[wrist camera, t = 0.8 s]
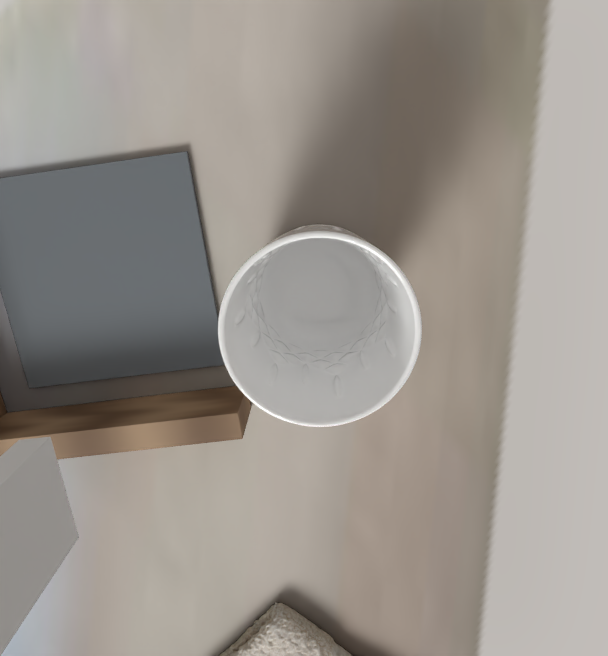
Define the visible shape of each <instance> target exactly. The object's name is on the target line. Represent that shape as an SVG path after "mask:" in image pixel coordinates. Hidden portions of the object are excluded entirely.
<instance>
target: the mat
mask: <svg viewBox="0 0 608 656" xmlns="http://www.w3.org/2000/svg"><path fill="white" fill-rule="evenodd" d="M0 291H1V294H2V297H3V301H4V304H5V308H6V311H7V314H8V318H9V321H10V325H11V328H12V331H13V335H14V338H15V342H16V345H17V349H18V352H19V355H20V359H21V362H22V366H23V369H24V372H25V376H26V379H27V383H28V386H29V388H36V387H44V386H52V385H61V384H69V383H77V382H86V381H94V380H102V379H111V378H119V377H128V376H136V375H144V374H153V373H161V372H169V371H178V370H186V369H194V368H203V367H211V366H220V365H225V364H224V361H223V358H222V355H221V351H220V346H219V339H218V314H217V308H216V303H215V297H214V292H213V286H212V281H211V276H210V270H209V265H208V259H207V254H206V248H205V243H204V237H203V232H202V226H201V221H200V216H199V210H198V205H197V199H196V194H195V188H194V183H193V177H192V172H191V166H190V161H189V156H188V152H187V151H186V152H179V153H172V154H165V155H158V156H151V157H144V158H137V159H130V160H123V161H116V162H109V163H102V164H96V165H89V166H82V167H75V168H68V169H61V170H54V171H47V172H40V173H33V174H26V175H19V176H12V177H5V178H0Z"/></svg>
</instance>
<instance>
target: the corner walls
mask: <svg viewBox="0 0 608 656" xmlns="http://www.w3.org/2000/svg"><path fill="white" fill-rule="evenodd" d="M250 410H251V403H250V400H249V399H248V398H247V397H246V396H245V395H244V394H243V393H242V392H241V390H240V389H239V388H238V387H237V386H231V387H222V388H214V389H205V390H196V391H188V392H179V393H171V394H162V395H154V396H145V397H137V398H128V399H120V400H111V401H103V402H94V403H85V404H77V405H68V406H60V407H51V408H43V409H34V410H26V411H17V412H9V413H7V411H6V408H5V404H4V401H3V398H2V395H1V392H0V456H1V455H2V454H4V453H5V452H6V451H7V450H8V449H9V448H10V447H12V446H13V445H14V444H15V443H16V442H17V441H18V440H23V439H33V438H42V437H51V440H52V444H53V447H54V451H55V454H56V458H57V459H64V458H73V457H82V456H91V455H100V454H109V453H118V452H127V451H136V450H145V449H154V448H163V447H172V446H181V445H190V444H199V443H208V442H217V441H226V440H235V439H242V438H243V435H244V431H245V428H246V424H247V421H248V417H249V414H250Z"/></svg>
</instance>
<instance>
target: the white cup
mask: <svg viewBox="0 0 608 656" xmlns="http://www.w3.org/2000/svg"><path fill="white" fill-rule="evenodd" d="M421 336H422V321H421V313H420V308H419V304H418V301H417V298H416V295H415V293H414V290H413V288H412V286H411V284H410V282H409V281H408V279H407V277H406V276H405V274H404V273H403V272H402V270H401V269H400V268H399V267H398V265H397V264H396V263H395V262H394V261H393V260H392V259H391V258H390V257H389V256H387V255H386V254H385V253H384V252H382V251H381V250H380V249H378V248H377V247H375V246H373V245H372V244H371V243H369V242H368V241H366V240H365V239H363V238H362V237H360V236H359V235H357V234H355V233H353V232H351V231H348V230H346V229H343V228H340V227H336V226H332V225H321V224H314V225H307V226H302V227H298V228H296V229H293V230H290V231H288V232H286V233H284V234H282V235H280V236H279V237H277V238H275V239H274V240H272V241H271V242H269V243H268V244H267V245H265V246H264V247H263V248H262V249H260V250H259V251H258V252H256V253H255V254H254V255H253V256H251V257H250V258H249V259H248V260H247V261H246V262H245V263H244V264H243V265H242V266H241V268H240V269H239V270H238V271H237V273H236V274H235V275H234V277H233V279H232V280H231V282H230V284H229V286H228V288H227V290H226V292H225V294H224V297H223V300H222V303H221V307H220V312H219V319H218V339H219V346H220V351H221V355H222V358H223V361H224V364H225V366H226V368H227V370H228V372H229V374H230V376H231V378H232V379H233V381H234V383H235V384H236V385H237V387H238V388H239V389H240V390H241V392H242V393H243V394H244V395H245V396H246V397H247V398H248V399H249V400H250V401H251V402H253V403H254V404H255V405H256V406H258V407H259V408H260V409H262V410H263V411H265V412H267V413H268V414H270V415H272V416H274V417H276V418H279V419H281V420H284V421H287V422H290V423H293V424H298V425H303V426H311V427H328V426H336V425H342V424H346V423H350V422H353V421H356V420H358V419H361V418H363V417H365V416H367V415H369V414H371V413H373V412H375V411H376V410H378V409H379V408H381V407H382V406H383V405H385V404H386V403H387V402H388V401H389V400H390V399H391V398H393V397H394V396H395V394H396V393H397V392H398V391H399V390H400V389H401V387H402V386H403V385H404V383H405V382H406V380H407V379H408V377H409V375H410V374H411V372H412V370H413V367H414V365H415V363H416V360H417V357H418V353H419V349H420V344H421Z"/></svg>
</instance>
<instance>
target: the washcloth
mask: <svg viewBox="0 0 608 656" xmlns="http://www.w3.org/2000/svg"><path fill="white" fill-rule="evenodd" d="M219 656H352V655H351V654H350V653H349V652H348V651H346V650H344V648H342V647H341V646H339V645H337V644H336V643H335V642H334V640H333V638H332V637H331V636H330V635H329V634H327V633H326V632H324V631H323V630H321V629H319V628H318V627H317V626H316V624H313V623H312V622H310V621H309V620H307V619H306V618H305V617H303V616H302V615H300V614H299V613H298V612H297V611H295V610H293V609H291V608H290V607H288V606H287V605H284V604H282V603H277V602H275V604H274V605H272V606H271V608H270V609H269V610H268V611H267V612H266V613H265V614H264V615H262V616H261V617H260V618H259V620H258V619H257V620H256V621H254V625H253V626H252V627H249V628H248V629H247V630H246V632H245V633H244V634H243V635H242V636H241V637H240V638H239V639H238V640H237V641H236V642H235V643H234V644H231V647H230V648H227V649H226V651H225V652H223V653H221V654H220V655H219Z"/></svg>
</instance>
